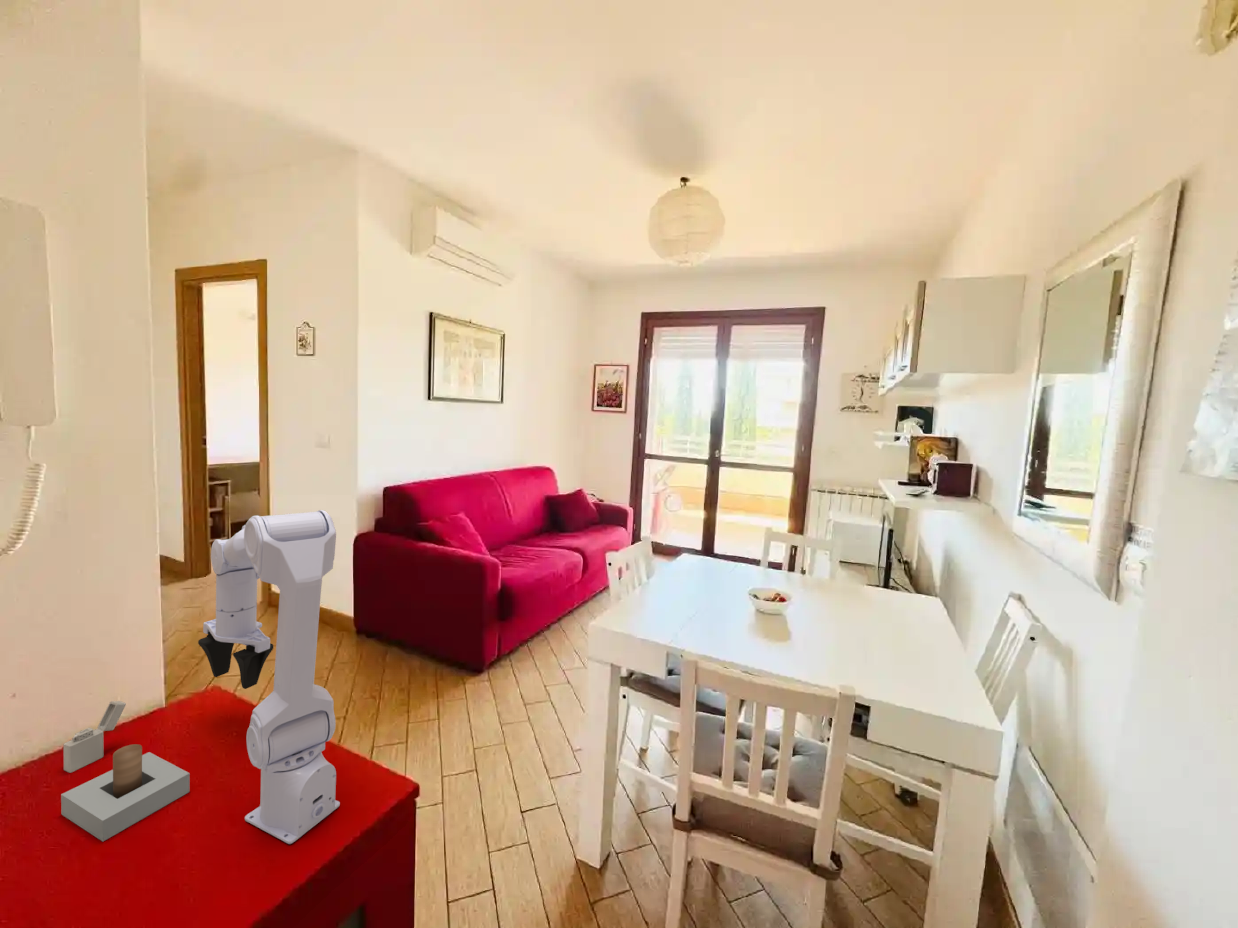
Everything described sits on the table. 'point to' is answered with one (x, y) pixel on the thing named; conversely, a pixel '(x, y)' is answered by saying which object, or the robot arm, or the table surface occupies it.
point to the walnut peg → (127, 770)
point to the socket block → (124, 798)
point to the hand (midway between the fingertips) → (235, 679)
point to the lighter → (91, 740)
